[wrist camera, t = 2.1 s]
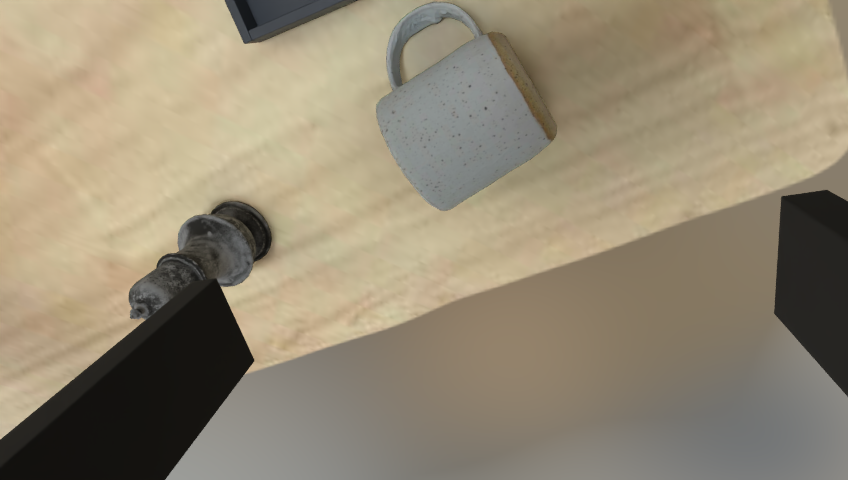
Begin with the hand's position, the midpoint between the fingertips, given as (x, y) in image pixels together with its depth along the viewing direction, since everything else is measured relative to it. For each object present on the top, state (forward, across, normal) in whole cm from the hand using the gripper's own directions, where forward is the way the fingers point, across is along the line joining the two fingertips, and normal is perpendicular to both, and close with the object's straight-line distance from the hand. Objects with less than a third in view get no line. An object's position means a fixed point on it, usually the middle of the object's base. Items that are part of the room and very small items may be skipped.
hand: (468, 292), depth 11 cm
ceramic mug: (+22, -2, +2) cm, 22 cm away
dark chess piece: (+22, -21, -5) cm, 31 cm away
